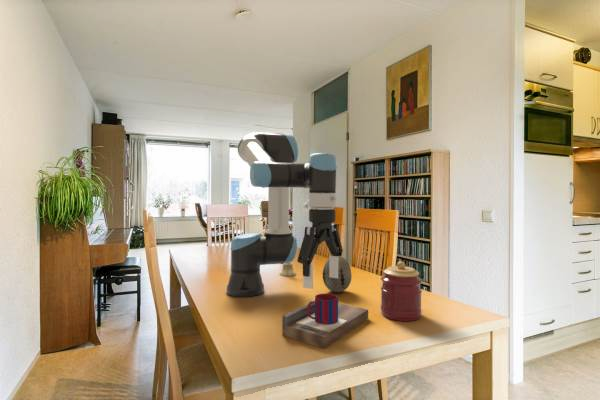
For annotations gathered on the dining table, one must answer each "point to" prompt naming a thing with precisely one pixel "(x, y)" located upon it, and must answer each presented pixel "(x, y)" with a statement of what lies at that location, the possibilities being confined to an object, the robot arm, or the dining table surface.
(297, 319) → the memo pad holder
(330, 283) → the decorative egg
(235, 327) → the dining table surface
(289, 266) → the hand bell
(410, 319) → the canister
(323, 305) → the mug
